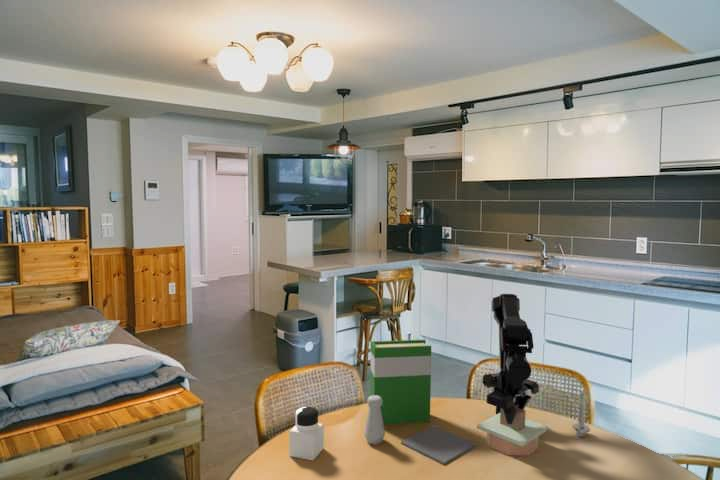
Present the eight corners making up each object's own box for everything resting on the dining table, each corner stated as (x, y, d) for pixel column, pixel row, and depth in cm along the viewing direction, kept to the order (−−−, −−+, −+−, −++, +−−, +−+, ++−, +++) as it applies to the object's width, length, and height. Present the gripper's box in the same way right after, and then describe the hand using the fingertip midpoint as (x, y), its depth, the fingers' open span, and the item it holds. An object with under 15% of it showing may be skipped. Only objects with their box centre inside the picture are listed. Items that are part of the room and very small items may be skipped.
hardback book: (423, 411, 158) (424, 339, 156) (429, 421, 151) (431, 346, 149) (370, 414, 155) (370, 341, 154) (374, 425, 148) (374, 348, 146)
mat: (434, 427, 147) (434, 425, 147) (476, 445, 136) (476, 443, 136) (400, 443, 137) (400, 441, 137) (443, 464, 126) (443, 462, 126)
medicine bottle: (324, 448, 134) (324, 406, 133) (313, 461, 127) (313, 417, 126) (300, 444, 136) (300, 402, 135) (288, 456, 129) (288, 412, 128)
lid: (503, 413, 147) (503, 394, 146) (547, 429, 137) (548, 409, 136) (477, 428, 137) (477, 407, 137) (522, 446, 127) (523, 424, 127)
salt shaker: (382, 447, 135) (383, 401, 134) (362, 445, 136) (363, 400, 135) (386, 437, 140) (386, 393, 139) (366, 435, 141) (367, 392, 140)
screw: (593, 436, 142) (581, 439, 140) (580, 429, 146) (568, 432, 144) (595, 393, 141) (583, 395, 139) (582, 387, 145) (569, 389, 143)
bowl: (503, 428, 147) (503, 415, 146) (544, 444, 137) (545, 430, 137) (479, 442, 138) (479, 428, 137) (521, 460, 128) (521, 445, 128)
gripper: (505, 354, 148) (504, 404, 149) (470, 368, 135) (469, 422, 136) (540, 363, 140) (538, 416, 141) (506, 379, 127) (504, 436, 128)
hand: (512, 422), depth 137 cm, fingers closed on lid, 3 cm apart
